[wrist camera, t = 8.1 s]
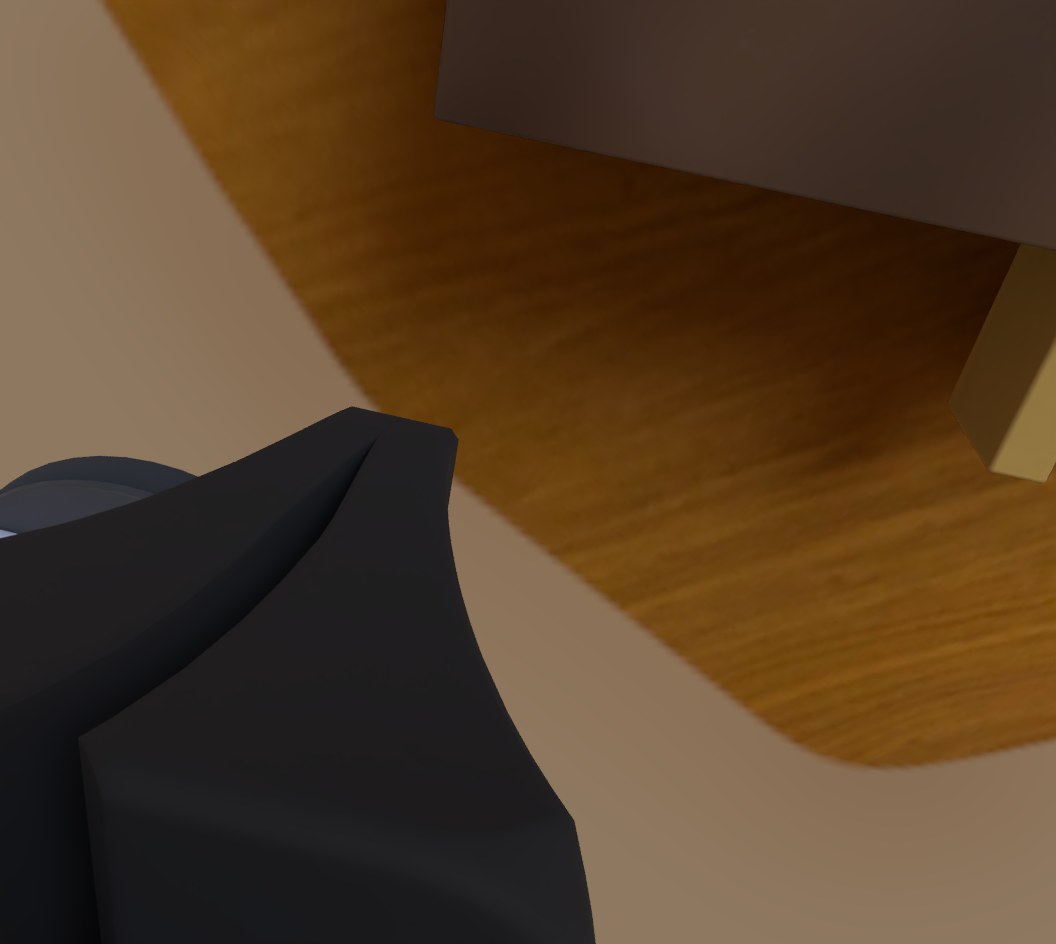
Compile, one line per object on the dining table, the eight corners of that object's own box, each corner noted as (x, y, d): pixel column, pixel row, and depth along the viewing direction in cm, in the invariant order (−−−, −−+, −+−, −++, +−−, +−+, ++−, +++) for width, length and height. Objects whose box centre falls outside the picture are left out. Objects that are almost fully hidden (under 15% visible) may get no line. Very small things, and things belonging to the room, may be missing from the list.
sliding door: (792, 350, 19) (818, 436, 15) (873, 121, 17) (925, 161, 13) (1115, 421, 19) (1216, 524, 15) (1243, 199, 16) (1396, 261, 13)
